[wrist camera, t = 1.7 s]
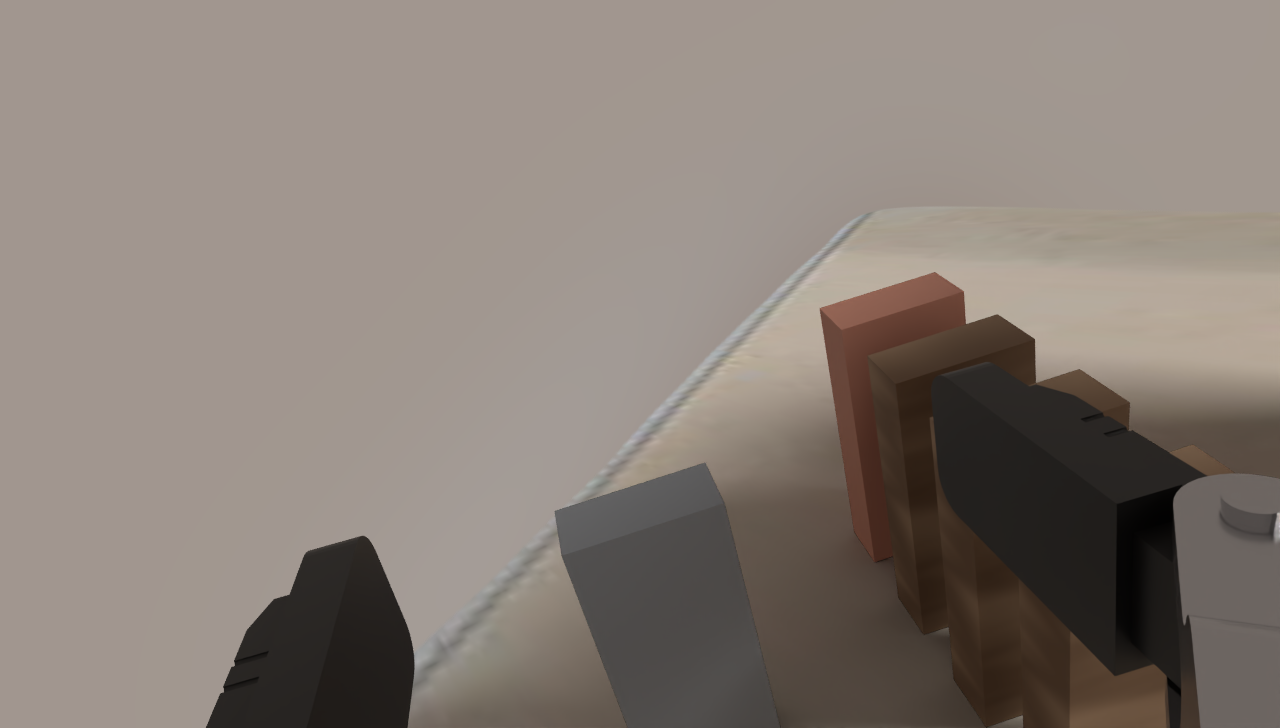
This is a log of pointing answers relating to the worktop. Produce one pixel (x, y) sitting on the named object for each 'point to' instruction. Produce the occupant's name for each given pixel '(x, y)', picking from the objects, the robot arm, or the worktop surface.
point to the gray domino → (668, 604)
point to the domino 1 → (848, 343)
